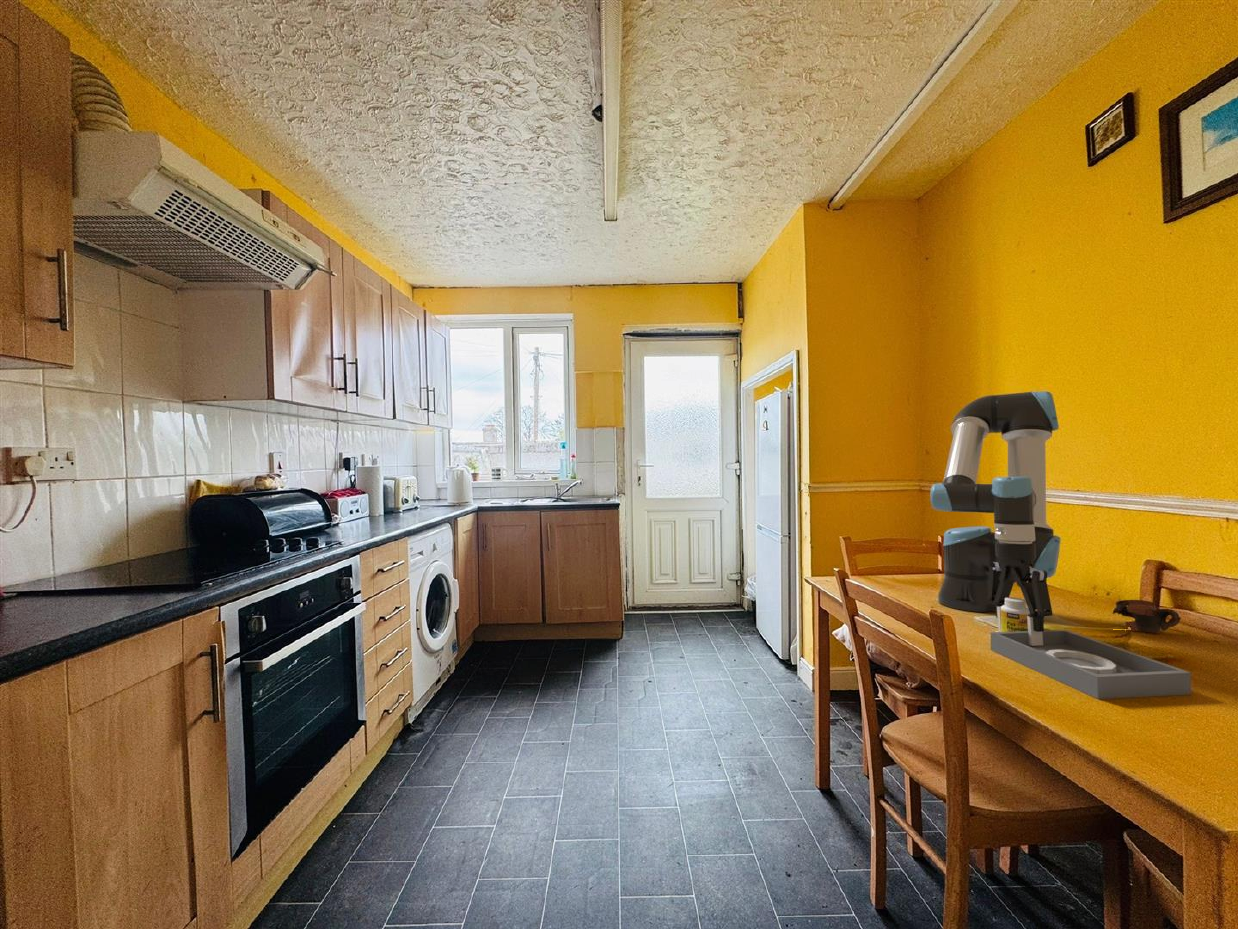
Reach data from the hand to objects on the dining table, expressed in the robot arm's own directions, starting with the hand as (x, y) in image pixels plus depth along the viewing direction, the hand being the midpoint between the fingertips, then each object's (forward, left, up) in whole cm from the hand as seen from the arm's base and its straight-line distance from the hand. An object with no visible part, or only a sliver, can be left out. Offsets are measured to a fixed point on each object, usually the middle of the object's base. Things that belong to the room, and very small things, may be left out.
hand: (1019, 639), depth 117 cm
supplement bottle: (-1, 0, -1) cm, 2 cm away
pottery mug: (-6, +39, -1) cm, 39 cm away
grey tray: (+15, 0, -1) cm, 15 cm away
